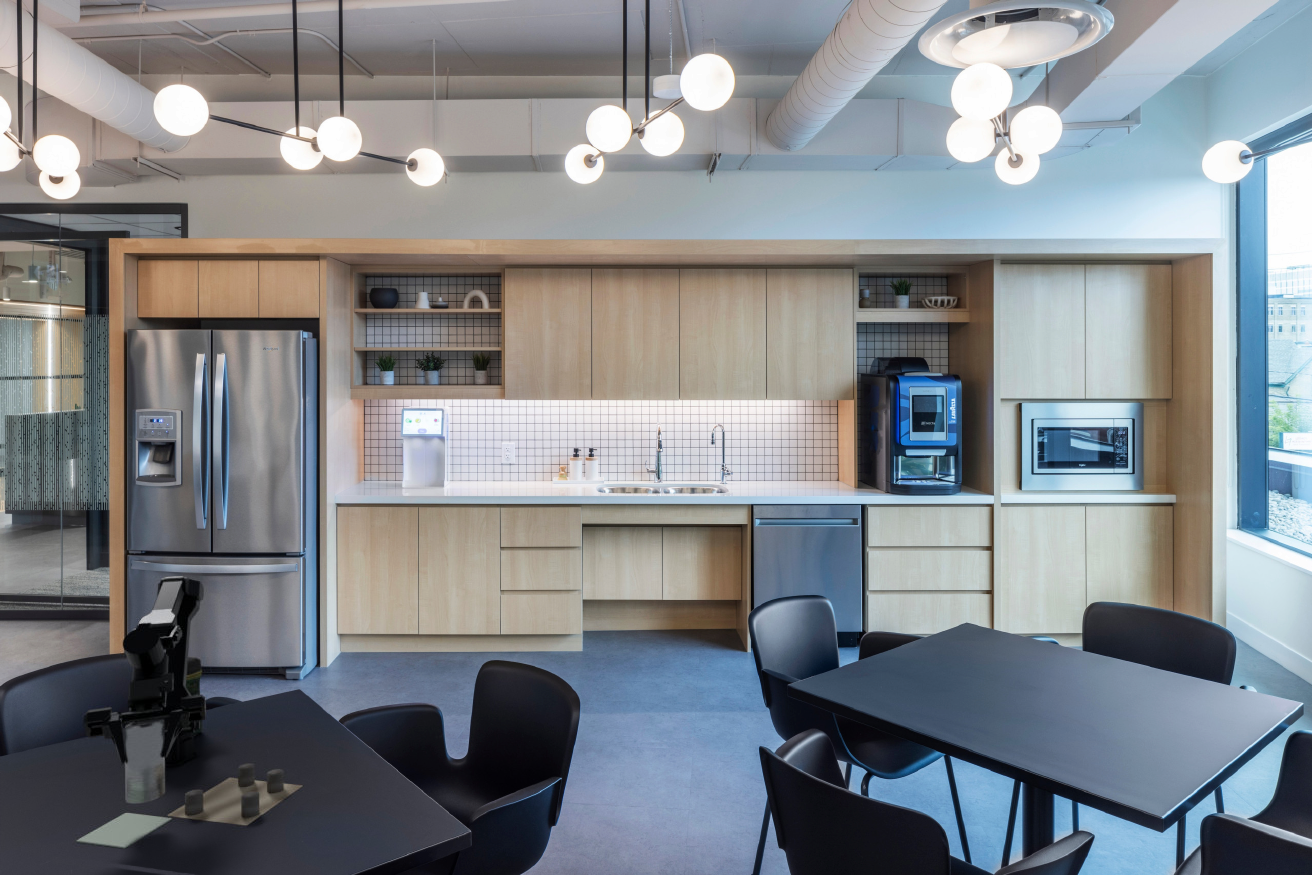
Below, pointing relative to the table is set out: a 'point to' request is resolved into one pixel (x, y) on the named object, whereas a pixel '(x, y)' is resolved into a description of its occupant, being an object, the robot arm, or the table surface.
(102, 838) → the sage pad
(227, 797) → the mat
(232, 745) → the table surface
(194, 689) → the coffee jar
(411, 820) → the table surface
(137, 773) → the clear upright cylinder
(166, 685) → the robot arm
